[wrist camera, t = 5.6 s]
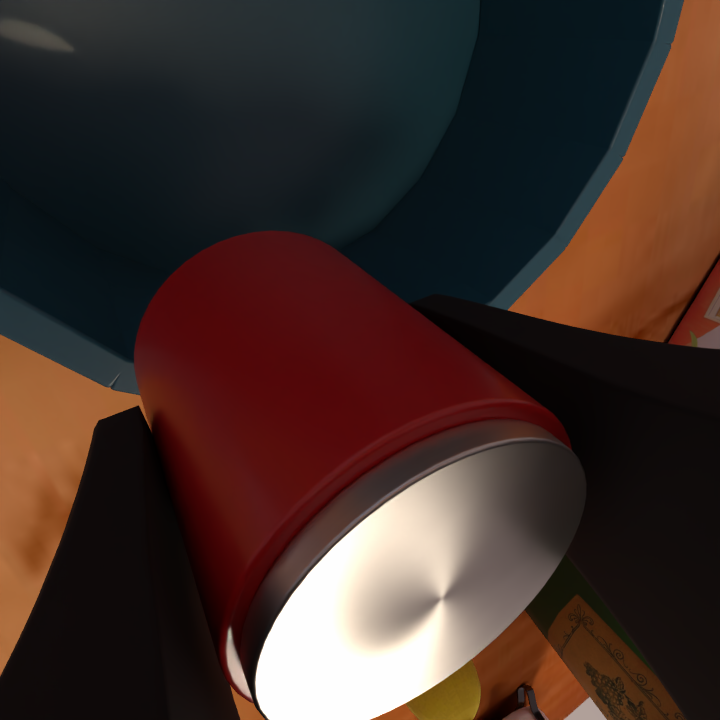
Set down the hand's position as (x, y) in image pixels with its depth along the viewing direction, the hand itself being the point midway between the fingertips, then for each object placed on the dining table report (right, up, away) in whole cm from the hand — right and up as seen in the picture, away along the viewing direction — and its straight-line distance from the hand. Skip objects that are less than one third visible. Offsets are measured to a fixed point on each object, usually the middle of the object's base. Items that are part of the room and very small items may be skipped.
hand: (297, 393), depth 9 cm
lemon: (+4, -19, +30) cm, 36 cm away
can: (-1, +1, +1) cm, 2 cm away
